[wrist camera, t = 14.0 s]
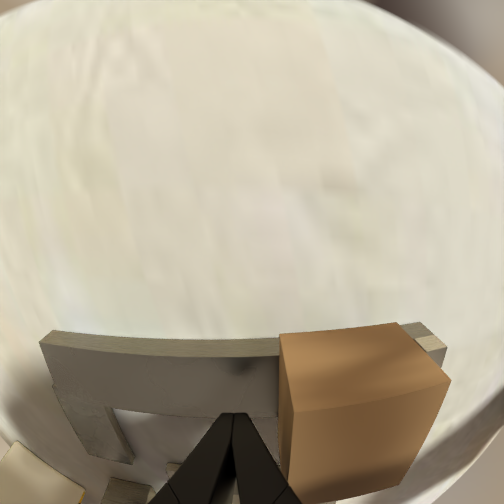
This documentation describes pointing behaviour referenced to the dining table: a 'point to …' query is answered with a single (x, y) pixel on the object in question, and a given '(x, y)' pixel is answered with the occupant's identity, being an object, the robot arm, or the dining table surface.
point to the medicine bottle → (34, 480)
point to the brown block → (353, 409)
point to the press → (167, 386)
